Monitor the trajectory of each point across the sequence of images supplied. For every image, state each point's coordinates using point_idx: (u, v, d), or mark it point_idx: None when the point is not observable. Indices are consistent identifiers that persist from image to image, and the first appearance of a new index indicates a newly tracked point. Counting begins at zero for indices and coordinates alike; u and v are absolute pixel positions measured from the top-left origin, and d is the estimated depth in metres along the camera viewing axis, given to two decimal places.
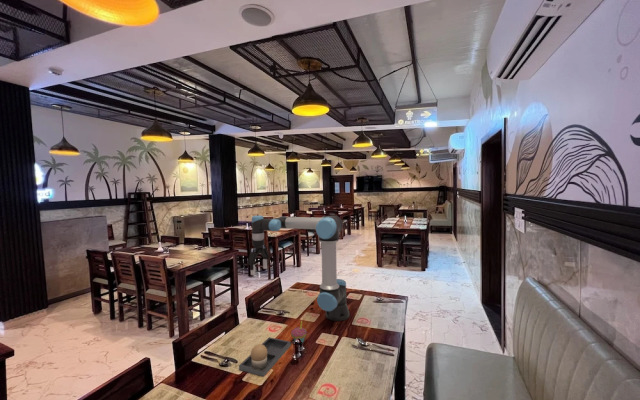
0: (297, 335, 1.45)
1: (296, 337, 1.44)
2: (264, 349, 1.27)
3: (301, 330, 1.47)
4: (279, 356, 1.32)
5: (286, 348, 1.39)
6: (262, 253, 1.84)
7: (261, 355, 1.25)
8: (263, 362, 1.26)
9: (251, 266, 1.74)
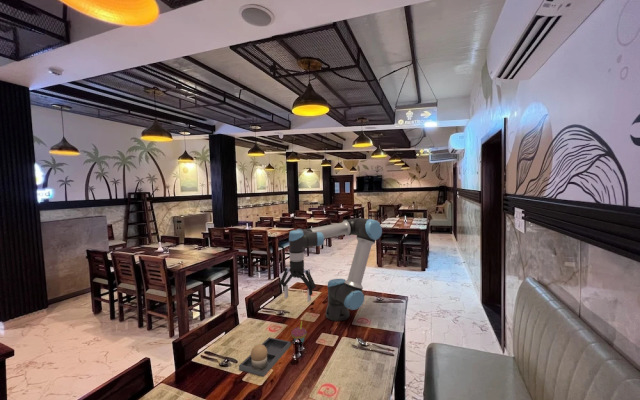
0: (297, 335, 1.45)
1: (296, 337, 1.44)
2: (264, 349, 1.27)
3: (301, 330, 1.47)
4: (279, 356, 1.32)
5: (286, 348, 1.39)
6: None
7: (261, 355, 1.25)
8: (263, 362, 1.26)
9: (283, 287, 1.50)
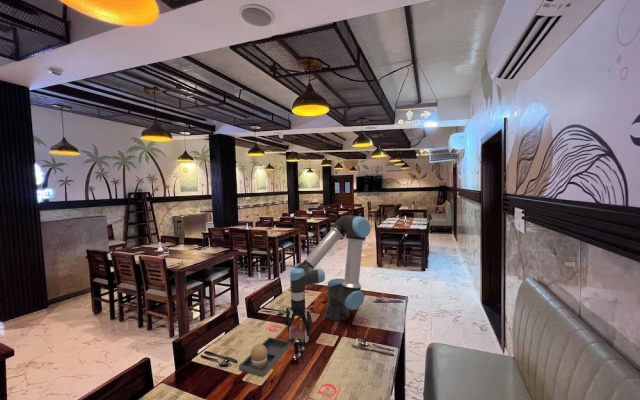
0: (297, 335, 1.45)
1: (296, 337, 1.44)
2: (264, 349, 1.27)
3: (301, 330, 1.47)
4: (279, 356, 1.32)
5: (286, 348, 1.39)
6: None
7: (261, 355, 1.25)
8: (263, 362, 1.26)
9: (288, 327, 1.50)
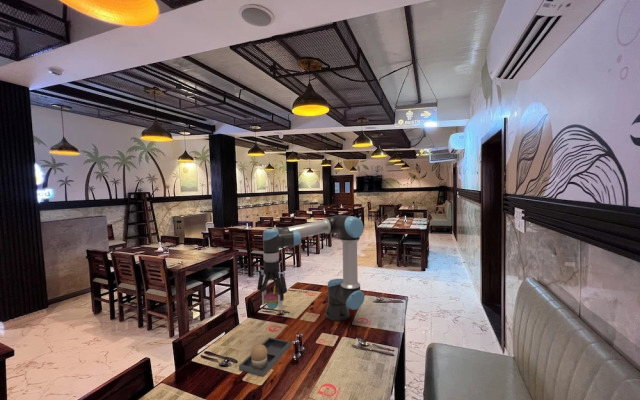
0: (269, 299, 1.35)
1: (268, 301, 1.34)
2: (264, 349, 1.27)
3: (274, 294, 1.37)
4: (279, 356, 1.32)
5: (286, 348, 1.39)
6: None
7: (261, 355, 1.25)
8: (263, 362, 1.26)
9: (261, 292, 1.40)
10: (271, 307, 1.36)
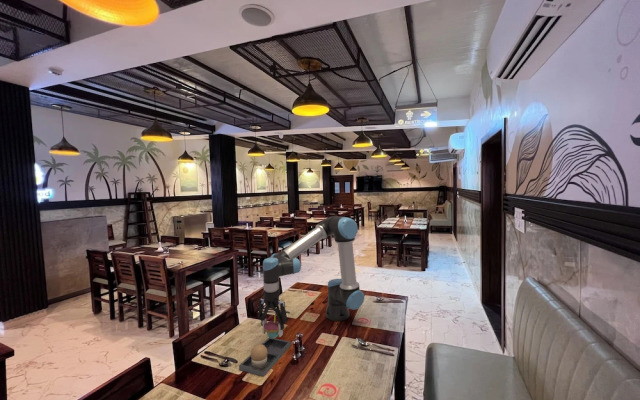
0: (270, 329, 1.35)
1: (269, 331, 1.35)
2: (264, 349, 1.27)
3: (275, 324, 1.37)
4: (279, 356, 1.32)
5: (286, 348, 1.39)
6: None
7: (261, 355, 1.25)
8: (263, 362, 1.26)
9: None
10: (271, 336, 1.37)
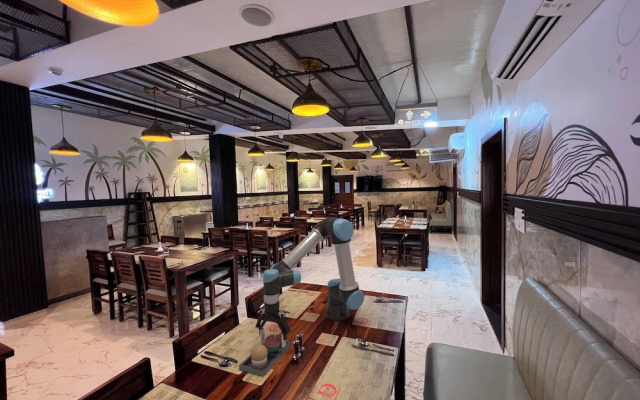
0: (270, 344, 1.35)
1: (269, 346, 1.35)
2: (264, 349, 1.27)
3: (275, 338, 1.37)
4: (279, 356, 1.32)
5: (286, 348, 1.39)
6: None
7: (261, 355, 1.25)
8: (263, 362, 1.26)
9: (259, 330, 1.42)
10: (272, 351, 1.37)
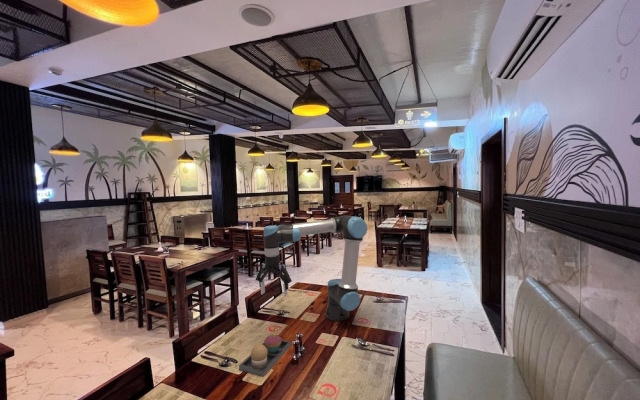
0: (270, 343, 1.35)
1: (269, 346, 1.35)
2: (264, 349, 1.27)
3: (275, 338, 1.38)
4: (279, 356, 1.32)
5: (286, 348, 1.39)
6: None
7: (261, 355, 1.25)
8: (263, 362, 1.26)
9: None
10: (272, 351, 1.37)
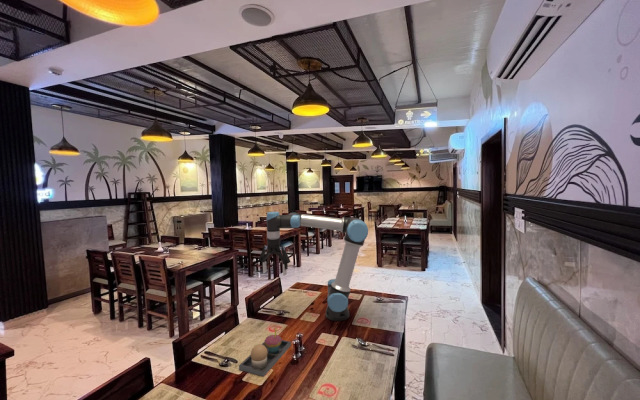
0: (270, 343, 1.35)
1: (269, 346, 1.35)
2: (264, 349, 1.27)
3: (275, 338, 1.38)
4: (279, 356, 1.32)
5: (286, 348, 1.39)
6: None
7: (261, 355, 1.25)
8: (263, 362, 1.26)
9: (262, 263, 1.66)
10: (272, 351, 1.37)
